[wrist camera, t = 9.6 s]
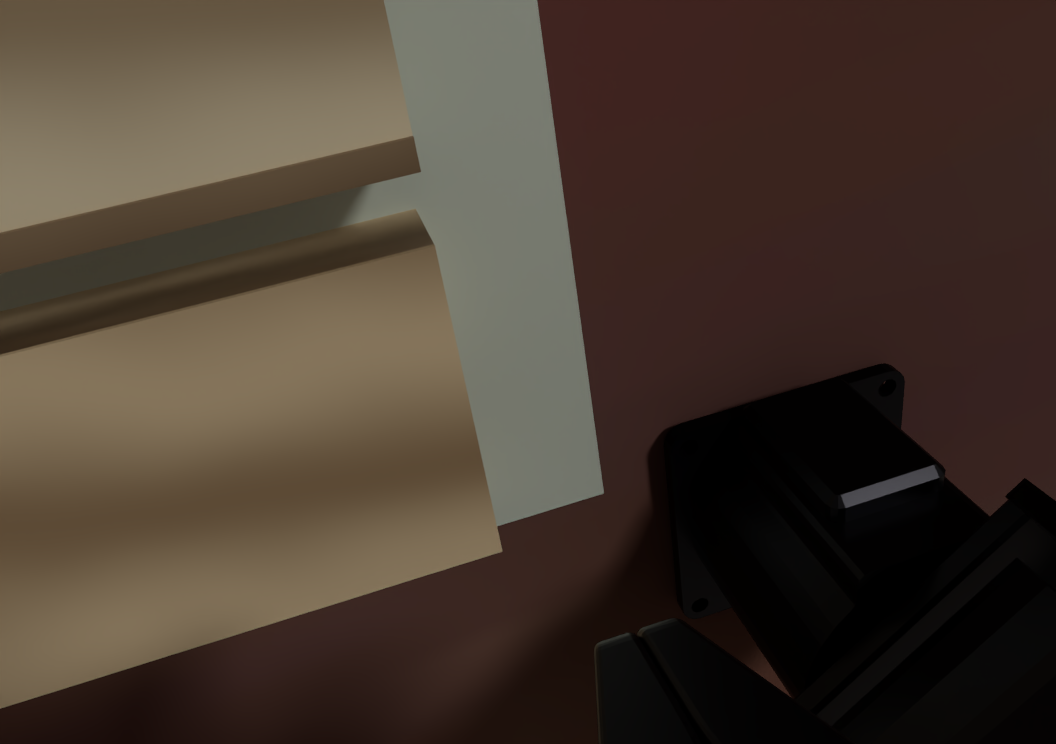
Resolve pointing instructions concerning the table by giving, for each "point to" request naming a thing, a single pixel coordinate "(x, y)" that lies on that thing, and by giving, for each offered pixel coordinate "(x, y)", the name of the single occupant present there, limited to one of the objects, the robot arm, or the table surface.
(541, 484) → the underlay mat
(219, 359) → the oak board
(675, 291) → the table surface
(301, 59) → the plank
